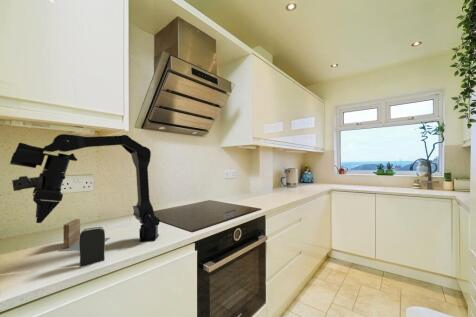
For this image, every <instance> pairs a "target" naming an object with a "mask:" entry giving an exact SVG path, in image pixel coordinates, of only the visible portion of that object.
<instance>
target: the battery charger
mask: <svg viewBox="0 0 476 317" xmlns="http://www.w3.org/2000/svg"><path fill="white" fill-rule="evenodd" d="M105 238H106V232H105V229H104V227H103V226H95V227H89V228H84V229H83V230H82V231H80V236H79V267H85V266H89V265H93V264H96V263H102V262H104V261H105V258H106V257H105V250H106V247H105V246H106V242H105Z"/></svg>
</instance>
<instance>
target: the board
mask: <svg viewBox="0 0 476 317" xmlns="http://www.w3.org/2000/svg"><path fill="white" fill-rule="evenodd" d="M80 233H81V219H80V218H76V219H73V220H70V221H68V222H67V223H65V224H63V248H64V249H65V248H70V247H71V246H73V245H74V244H76V243H77V242H78V241H79V236H80Z"/></svg>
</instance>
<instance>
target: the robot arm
mask: <svg viewBox="0 0 476 317" xmlns="http://www.w3.org/2000/svg"><path fill="white" fill-rule="evenodd" d="M110 146H111V147H112V146H113V147H114V146H121V147H122V148H123V149H124V150H125V151H126V152H128V153H129V154H131V159H132V162H133V165H134V167H135V173H136V175H135V176H136V188H137V202H136V205H132V208H133V214H132V215H133V216H134V218H135V219H136V220H138V222H139V223H140V228H139V231H138V232H139V233H138V234H139V240H138V241H139V242H151V241H152V242H153V241H156V240H157V239H158V237H159V236H160V234H159V230H158V228H159V225H160V222H161V220H160V218H158V217H157V216H156V215H155V211H154V208H153V205H152V203H151V200H150V185H149V182H150V181H149V170H148V169H149V164H150V162H151V155H152V153H151V152H152V151H151V150H150V149H149V147H148V146H147V147H146V146H143V145H142V144H140V143H139V142H138V141H135V139H133V138H131V137H130V136H129V135H127V134H122V135H104V136H102V135H101V136H83V135H82V136H81V135H76V134H69V133H68V134H66V133H62V134H58V135H56V136H55V137H54V138H53V140H52V142H51V143H50V144H48V145H45V146H44V147H39V146H36V145H35V146H34V145H29V144H27V143H23V142H18V144H17V147H16V149H15V151H14V152H13V153H12V156H11V160H10V163H9V165H12V166H17V167H19V166H20V167H25V168H31V169H36V168H37V166H40V167H41V166H42V165H43V163H44V166H43V169H42V171H41V173H39V176H33V177H29V176H28V175H23V176H19V177H18V178H17V179H12V180H11V183H12V189H13V191H14V192H17V191H18V192H19V191H22V190H27V189H33V188H34V189H33V190H32V196H33V197H32V201H33V202H34V203H35V204H36V210H35V218H36V224H42V223H43V221H44V220H45V219H46V218H47V217H48V216H49V215H50V214H51V212H52V211H53V210H54V209H55V208H56V207H57V206H58V205H59V204H60V203H61V202H62V200H63V197H64V194H63V193H62V192H61V191H62V185H63V182H64V180H65V179H66V173H67V170H68V166H69V164H70V161H72V162H73V161H74V162H77V161H78V158H76V156H75V153H70V154H66V153H68V152H72V151H77V150H81V149H85V148H94V147H96V148H98V147H110ZM54 152H58V153H57V154H50V153H54ZM46 156H47V157H46ZM45 157H46V159H45ZM44 160H45V162H44Z"/></svg>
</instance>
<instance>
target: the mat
mask: <svg viewBox="0 0 476 317" xmlns="http://www.w3.org/2000/svg"><path fill="white" fill-rule="evenodd" d="M110 239H111V237H105V243H106V242H107V241H108V240H110ZM76 251H79V241H78V242H77V243H76V244H74V245H73V246H71V247H70V248H65V249H64V247H62V248H60V249H59V250H57V252H76Z"/></svg>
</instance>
